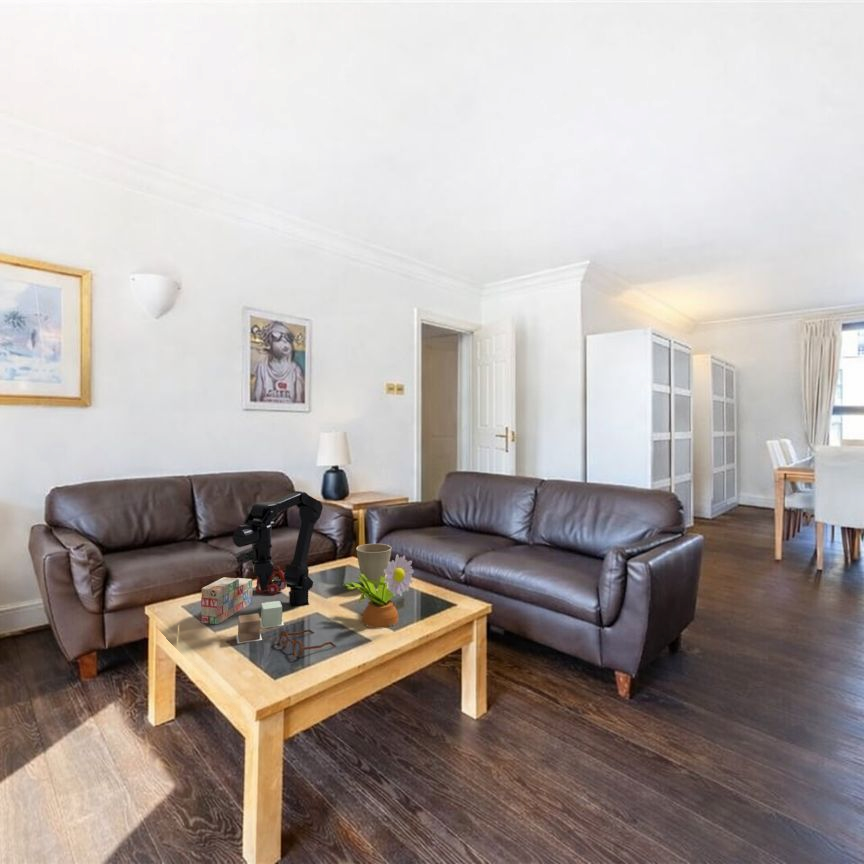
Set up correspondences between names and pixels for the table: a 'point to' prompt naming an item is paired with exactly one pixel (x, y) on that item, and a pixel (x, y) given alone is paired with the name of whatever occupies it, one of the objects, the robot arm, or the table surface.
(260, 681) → the table surface
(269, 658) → the table surface
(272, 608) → the sage block
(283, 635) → the glasses
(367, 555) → the plant pot
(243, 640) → the walnut block
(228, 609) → the stack of blocks
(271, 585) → the toy fire truck
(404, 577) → the decorative plant
